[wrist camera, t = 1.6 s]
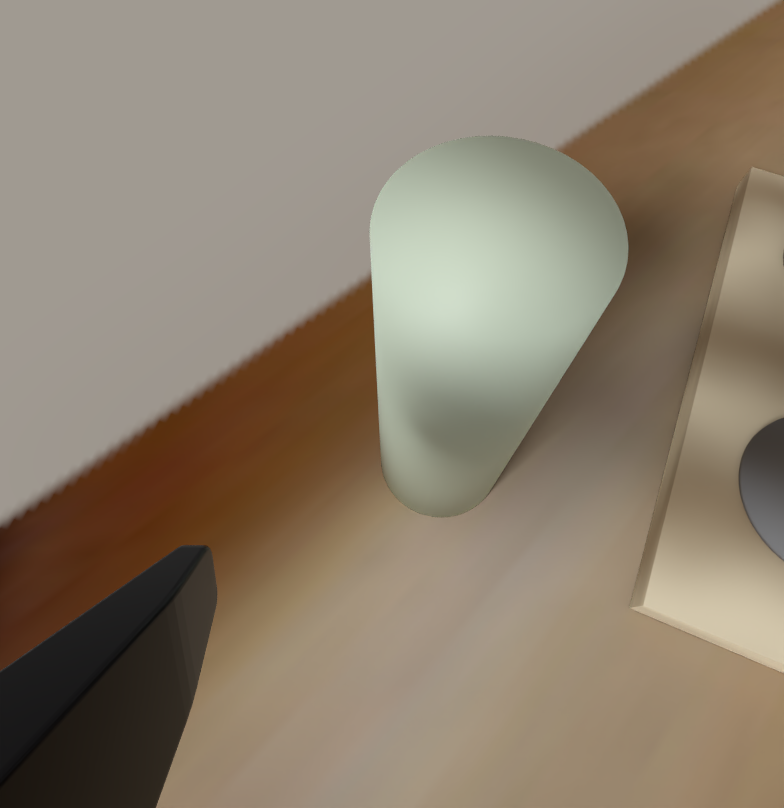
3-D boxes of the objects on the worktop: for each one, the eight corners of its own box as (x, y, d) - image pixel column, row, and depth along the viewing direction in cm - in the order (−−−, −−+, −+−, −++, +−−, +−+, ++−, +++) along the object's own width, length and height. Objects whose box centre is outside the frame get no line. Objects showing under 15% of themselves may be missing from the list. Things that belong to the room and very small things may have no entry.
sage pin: (518, 490, 22) (679, 292, 10) (407, 535, 21) (431, 384, 9) (468, 389, 23) (552, 109, 11) (363, 428, 22) (333, 176, 10)
